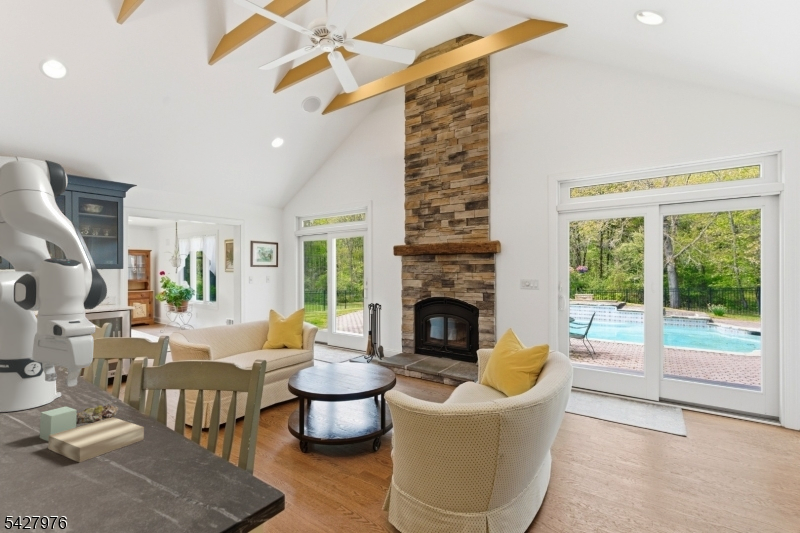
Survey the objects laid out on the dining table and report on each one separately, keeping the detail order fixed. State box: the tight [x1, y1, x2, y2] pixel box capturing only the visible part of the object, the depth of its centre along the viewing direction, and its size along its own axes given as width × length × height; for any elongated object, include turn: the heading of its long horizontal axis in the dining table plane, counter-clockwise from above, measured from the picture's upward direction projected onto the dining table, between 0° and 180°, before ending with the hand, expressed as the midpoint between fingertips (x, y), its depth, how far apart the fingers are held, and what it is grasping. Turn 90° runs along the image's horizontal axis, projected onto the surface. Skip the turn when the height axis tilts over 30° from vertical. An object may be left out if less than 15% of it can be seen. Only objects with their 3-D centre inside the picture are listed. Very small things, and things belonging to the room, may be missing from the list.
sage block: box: [39, 406, 78, 442], centre depth 95 cm, size 5×5×6 cm
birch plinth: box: [47, 416, 145, 463], centre depth 91 cm, size 13×13×3 cm
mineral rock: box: [76, 404, 119, 425], centre depth 107 cm, size 11×4×8 cm
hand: (60, 383), depth 95 cm, fingers open, 8 cm apart
